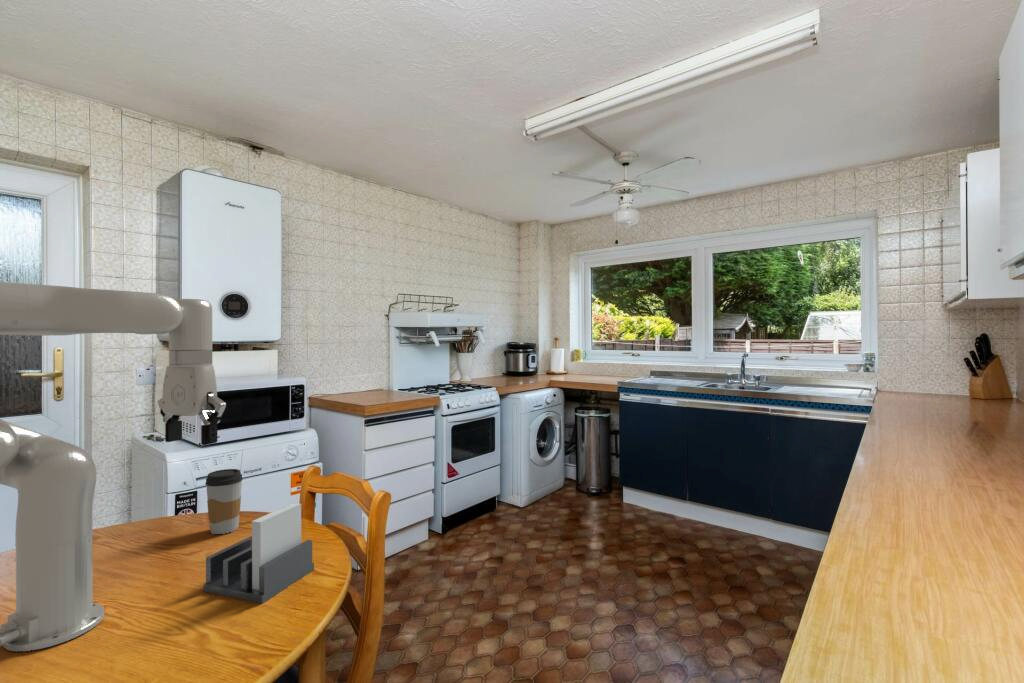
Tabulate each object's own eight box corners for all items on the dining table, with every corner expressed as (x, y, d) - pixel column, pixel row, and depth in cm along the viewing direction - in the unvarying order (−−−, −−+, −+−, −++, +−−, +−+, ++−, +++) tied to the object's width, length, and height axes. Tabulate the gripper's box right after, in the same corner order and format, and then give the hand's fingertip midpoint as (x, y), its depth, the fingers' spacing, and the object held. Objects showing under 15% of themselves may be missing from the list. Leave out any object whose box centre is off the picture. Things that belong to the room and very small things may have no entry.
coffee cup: (250, 526, 129) (250, 469, 129) (223, 538, 121) (223, 478, 121) (225, 523, 131) (224, 467, 131) (197, 535, 123) (197, 475, 123)
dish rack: (262, 603, 91) (262, 568, 91) (203, 591, 95) (203, 558, 95) (314, 569, 104) (313, 539, 104) (260, 560, 108) (260, 531, 108)
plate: (260, 590, 93) (260, 522, 92) (252, 588, 93) (251, 521, 93) (301, 564, 103) (301, 503, 103) (293, 563, 104) (293, 502, 104)
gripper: (142, 359, 99) (142, 443, 99) (206, 360, 94) (206, 449, 94) (177, 358, 106) (177, 436, 106) (239, 358, 101) (239, 441, 101)
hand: (191, 442), depth 100 cm, fingers open, 9 cm apart
